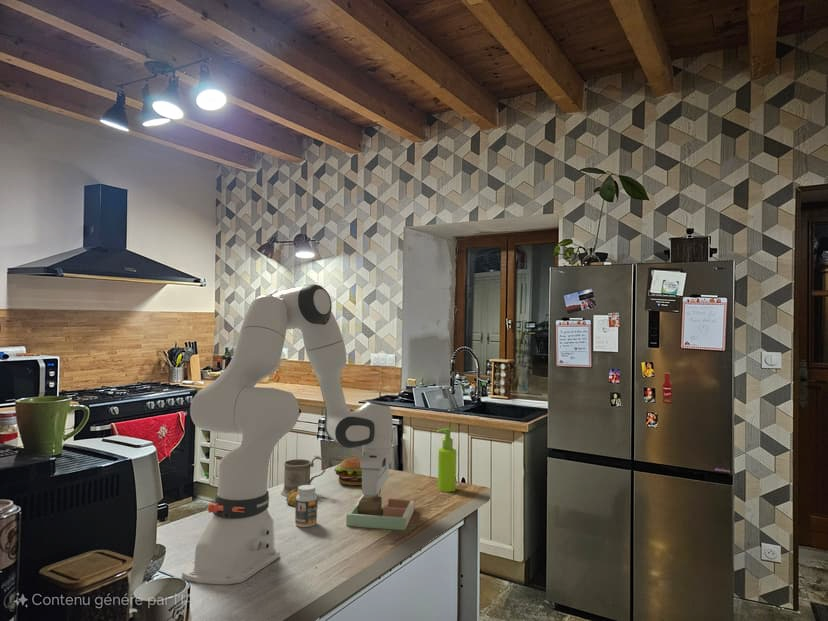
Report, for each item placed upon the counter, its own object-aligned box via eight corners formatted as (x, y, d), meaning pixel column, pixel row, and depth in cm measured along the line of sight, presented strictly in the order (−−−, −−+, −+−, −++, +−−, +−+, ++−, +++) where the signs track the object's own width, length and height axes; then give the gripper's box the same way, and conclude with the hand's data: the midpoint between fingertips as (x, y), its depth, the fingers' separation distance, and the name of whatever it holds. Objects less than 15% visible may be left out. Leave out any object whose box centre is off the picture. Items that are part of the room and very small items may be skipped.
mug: (275, 496, 175) (276, 457, 175) (288, 487, 185) (289, 450, 185) (319, 499, 172) (320, 460, 173) (330, 490, 182) (331, 453, 182)
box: (404, 530, 148) (405, 518, 148) (346, 525, 151) (346, 514, 151) (417, 502, 172) (418, 492, 172) (367, 498, 174) (367, 488, 174)
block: (377, 517, 158) (378, 502, 158) (358, 515, 159) (359, 501, 159) (381, 510, 163) (381, 496, 163) (363, 509, 164) (363, 495, 164)
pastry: (321, 505, 168) (321, 492, 168) (305, 511, 162) (305, 498, 162) (300, 499, 173) (300, 486, 173) (283, 504, 168) (283, 492, 168)
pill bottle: (311, 528, 148) (312, 491, 148) (291, 526, 149) (292, 489, 149) (319, 521, 153) (320, 485, 154) (300, 519, 155) (301, 483, 155)
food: (346, 474, 202) (346, 452, 203) (380, 479, 197) (381, 456, 197) (325, 483, 190) (326, 460, 190) (362, 489, 184) (363, 465, 185)
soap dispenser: (432, 488, 187) (433, 428, 187) (450, 486, 190) (451, 426, 190) (440, 493, 181) (441, 431, 182) (458, 490, 184) (459, 430, 185)
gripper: (374, 448, 177) (373, 492, 176) (358, 463, 156) (357, 513, 156) (393, 449, 176) (393, 493, 175) (380, 464, 155) (379, 515, 155)
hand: (376, 503), depth 165 cm, fingers closed
